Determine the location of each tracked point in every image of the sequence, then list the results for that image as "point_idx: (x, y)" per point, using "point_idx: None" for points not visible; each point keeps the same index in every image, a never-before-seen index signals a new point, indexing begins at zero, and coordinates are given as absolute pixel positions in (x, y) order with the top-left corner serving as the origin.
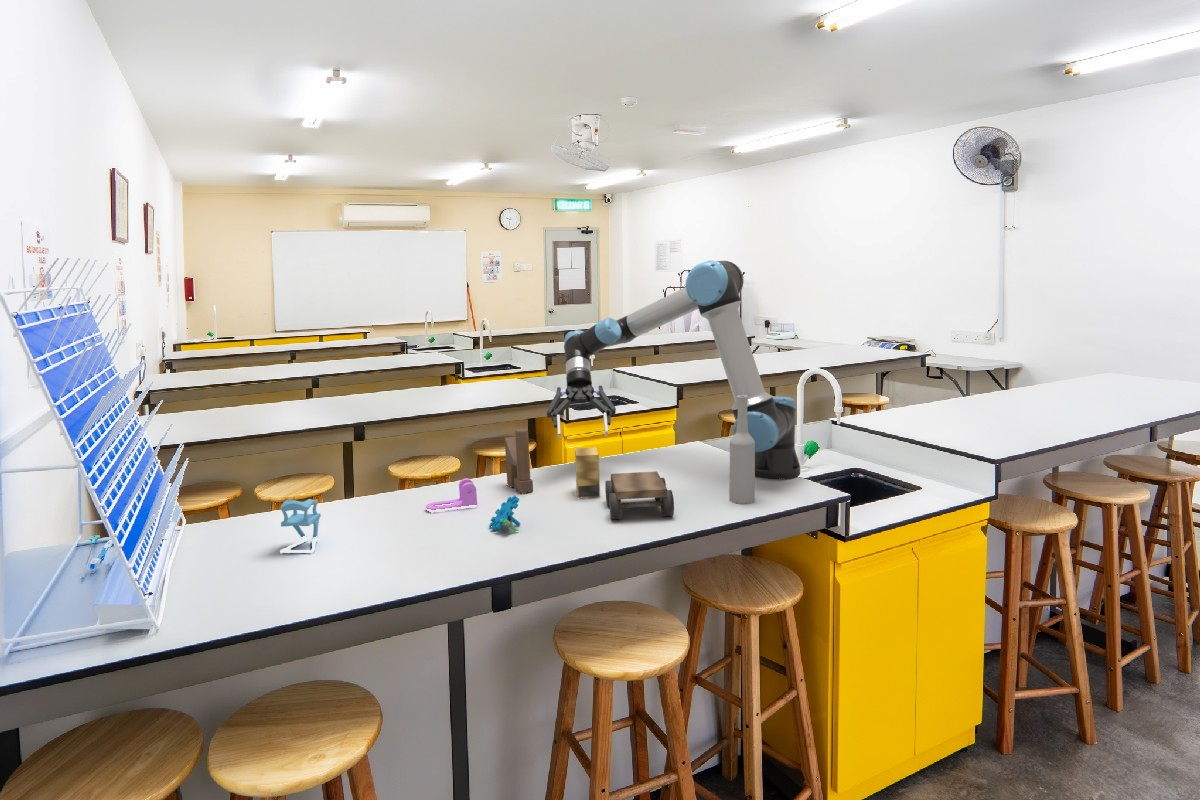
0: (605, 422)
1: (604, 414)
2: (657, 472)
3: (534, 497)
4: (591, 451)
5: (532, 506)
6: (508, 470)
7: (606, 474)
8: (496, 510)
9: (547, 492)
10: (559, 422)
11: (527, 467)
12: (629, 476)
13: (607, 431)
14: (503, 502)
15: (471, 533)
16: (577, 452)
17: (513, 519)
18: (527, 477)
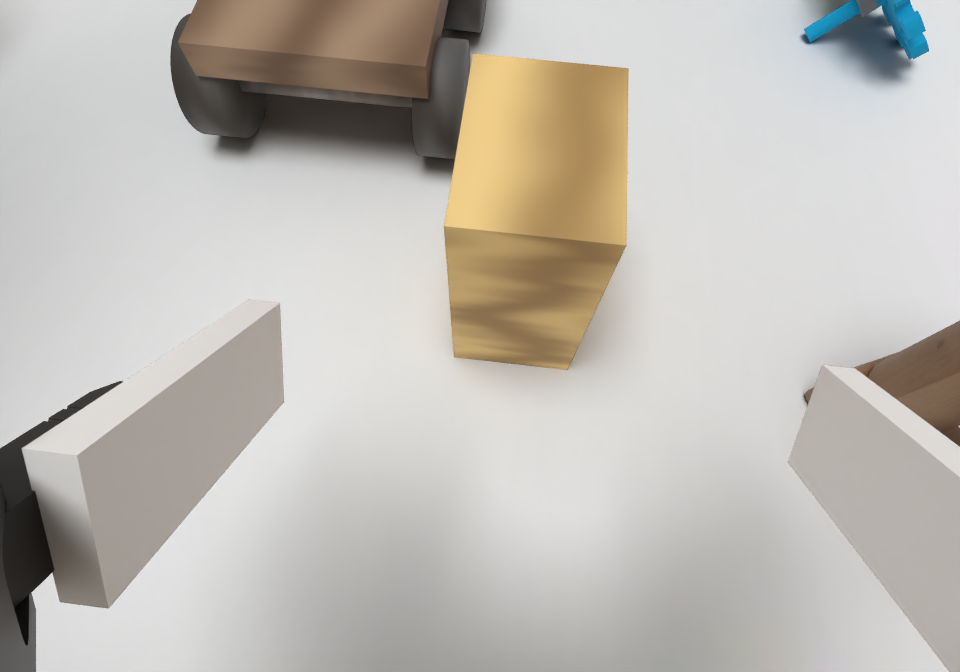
0: (201, 348)
1: (99, 427)
2: (184, 28)
3: (784, 310)
4: (505, 135)
5: (779, 198)
6: None
7: (324, 643)
8: (927, 45)
9: (723, 369)
10: (942, 458)
11: (934, 335)
12: (347, 11)
13: (255, 302)
14: (921, 20)
15: (956, 20)
16: (613, 139)
17: (838, 8)
18: (887, 359)
